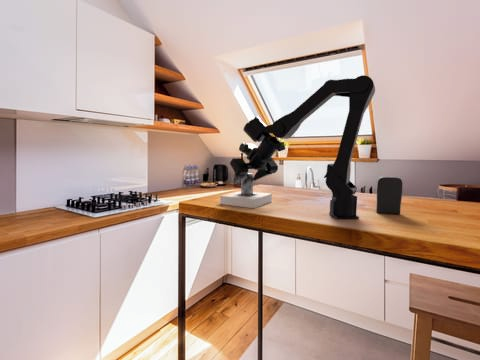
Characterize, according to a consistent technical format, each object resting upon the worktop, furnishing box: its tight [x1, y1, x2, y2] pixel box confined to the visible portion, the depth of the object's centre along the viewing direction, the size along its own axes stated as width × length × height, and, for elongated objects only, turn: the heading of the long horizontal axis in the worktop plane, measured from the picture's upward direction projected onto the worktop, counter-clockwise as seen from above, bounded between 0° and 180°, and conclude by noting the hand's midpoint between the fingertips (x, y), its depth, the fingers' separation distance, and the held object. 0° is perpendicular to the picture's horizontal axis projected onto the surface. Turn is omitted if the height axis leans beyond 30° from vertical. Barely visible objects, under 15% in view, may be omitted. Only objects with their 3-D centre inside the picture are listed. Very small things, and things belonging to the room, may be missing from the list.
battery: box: [375, 176, 404, 215], centre depth 85 cm, size 7×4×11 cm, turn 69°
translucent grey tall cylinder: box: [240, 172, 254, 197], centre depth 101 cm, size 4×4×11 cm
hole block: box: [219, 190, 273, 209], centre depth 101 cm, size 14×14×3 cm
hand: (244, 180), depth 102 cm, fingers open, 9 cm apart
